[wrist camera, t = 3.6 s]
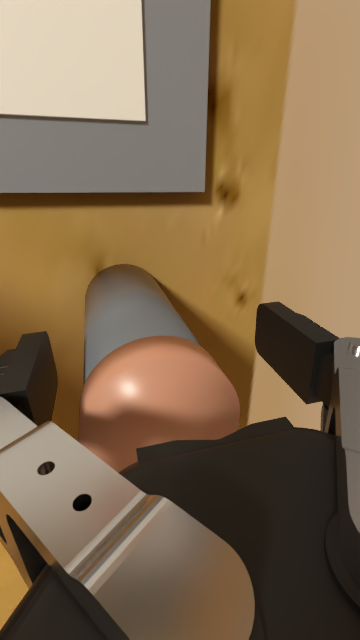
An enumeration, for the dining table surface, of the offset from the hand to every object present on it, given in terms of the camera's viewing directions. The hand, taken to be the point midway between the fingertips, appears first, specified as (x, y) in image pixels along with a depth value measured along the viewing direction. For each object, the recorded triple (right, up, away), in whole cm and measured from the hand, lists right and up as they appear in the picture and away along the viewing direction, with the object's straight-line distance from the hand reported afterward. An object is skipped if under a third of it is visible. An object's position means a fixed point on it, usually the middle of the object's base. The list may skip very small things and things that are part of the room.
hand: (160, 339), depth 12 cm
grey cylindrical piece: (-3, +2, +7) cm, 7 cm away
